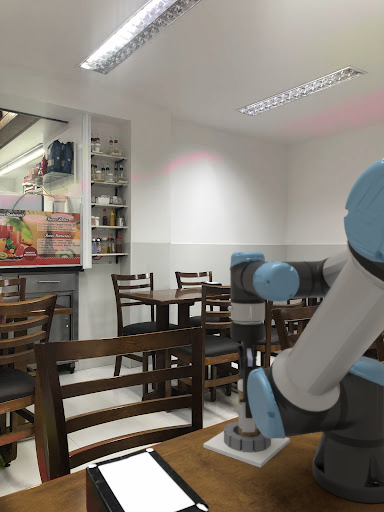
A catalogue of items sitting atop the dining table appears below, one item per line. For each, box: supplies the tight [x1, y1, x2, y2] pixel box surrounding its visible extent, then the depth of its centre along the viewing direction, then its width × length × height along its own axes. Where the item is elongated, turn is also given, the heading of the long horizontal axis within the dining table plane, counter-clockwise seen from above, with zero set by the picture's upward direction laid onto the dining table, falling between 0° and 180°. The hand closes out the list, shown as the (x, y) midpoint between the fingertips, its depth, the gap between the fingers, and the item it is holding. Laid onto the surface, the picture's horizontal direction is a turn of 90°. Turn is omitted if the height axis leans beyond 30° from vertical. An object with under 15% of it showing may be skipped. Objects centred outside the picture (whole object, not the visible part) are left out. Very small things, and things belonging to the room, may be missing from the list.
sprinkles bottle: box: [237, 378, 258, 437], centre depth 91 cm, size 5×5×14 cm
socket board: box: [202, 421, 291, 469], centre depth 91 cm, size 14×14×3 cm
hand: (247, 426), depth 91 cm, fingers closed on sprinkles bottle, 4 cm apart
